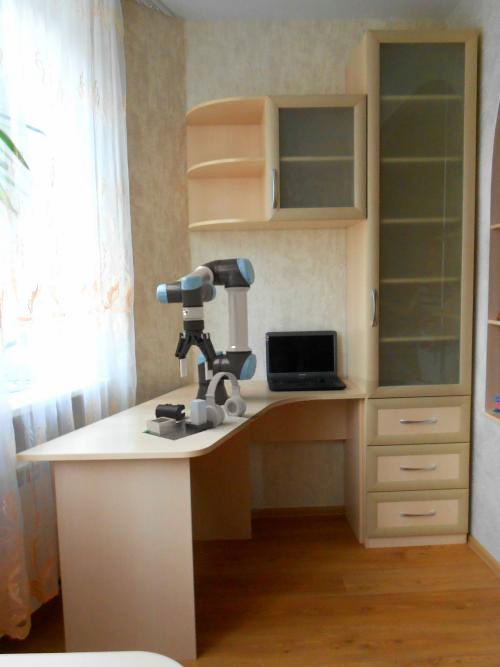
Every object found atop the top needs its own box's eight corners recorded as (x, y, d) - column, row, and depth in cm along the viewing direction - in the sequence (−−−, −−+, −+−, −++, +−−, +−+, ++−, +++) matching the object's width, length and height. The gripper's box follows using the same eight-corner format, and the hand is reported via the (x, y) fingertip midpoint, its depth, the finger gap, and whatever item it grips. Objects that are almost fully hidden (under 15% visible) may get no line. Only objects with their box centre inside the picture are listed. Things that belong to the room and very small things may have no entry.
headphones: (230, 415, 210) (228, 368, 209) (247, 416, 206) (245, 369, 204) (200, 427, 193) (198, 376, 192) (219, 429, 189) (216, 377, 187)
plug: (199, 425, 191) (198, 399, 190) (207, 427, 188) (205, 400, 188) (191, 428, 188) (190, 401, 187) (198, 429, 186) (197, 402, 185)
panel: (184, 422, 200) (183, 410, 200) (216, 429, 188) (216, 416, 188) (142, 434, 185) (141, 421, 185) (174, 443, 173) (173, 428, 173)
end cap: (155, 422, 203) (154, 406, 202) (165, 418, 209) (164, 402, 209) (177, 424, 199) (176, 407, 198) (186, 419, 205) (185, 403, 205)
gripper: (163, 319, 191) (166, 376, 192) (209, 320, 174) (212, 382, 176) (179, 318, 196) (182, 373, 198) (225, 318, 180) (228, 378, 181)
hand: (196, 377), depth 187 cm, fingers open, 13 cm apart
